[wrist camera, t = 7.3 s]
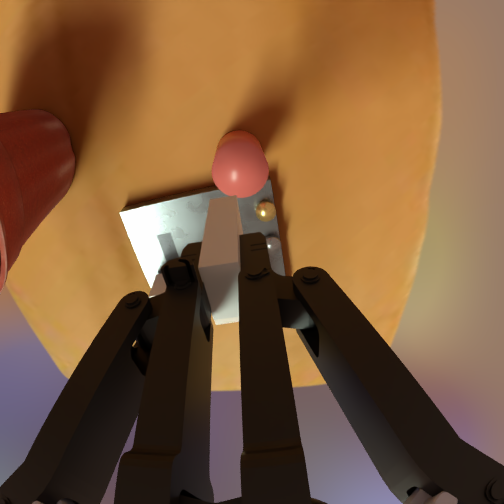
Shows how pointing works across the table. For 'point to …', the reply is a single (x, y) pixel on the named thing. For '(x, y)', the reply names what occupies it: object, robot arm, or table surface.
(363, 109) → the table surface
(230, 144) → the lockout cap
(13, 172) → the flower pot
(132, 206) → the panel
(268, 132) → the table surface
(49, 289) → the table surface
